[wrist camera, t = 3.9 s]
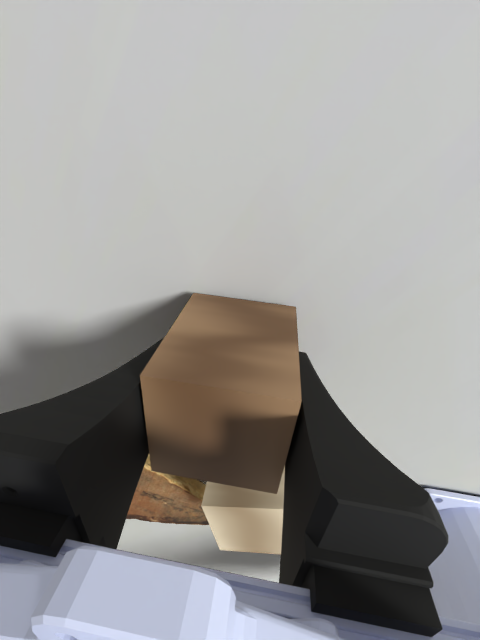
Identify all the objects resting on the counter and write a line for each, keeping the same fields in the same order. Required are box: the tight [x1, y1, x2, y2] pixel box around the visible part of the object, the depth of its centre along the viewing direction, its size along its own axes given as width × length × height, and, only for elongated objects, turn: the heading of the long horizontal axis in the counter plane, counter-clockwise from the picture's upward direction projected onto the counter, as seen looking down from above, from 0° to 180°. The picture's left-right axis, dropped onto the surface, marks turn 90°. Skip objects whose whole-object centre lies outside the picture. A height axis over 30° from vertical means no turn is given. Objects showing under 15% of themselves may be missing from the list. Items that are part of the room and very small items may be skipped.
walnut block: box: [140, 293, 302, 494], centre depth 12 cm, size 4×4×6 cm
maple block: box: [201, 466, 285, 554], centre depth 17 cm, size 4×4×4 cm
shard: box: [126, 455, 209, 525], centre depth 22 cm, size 13×9×2 cm
